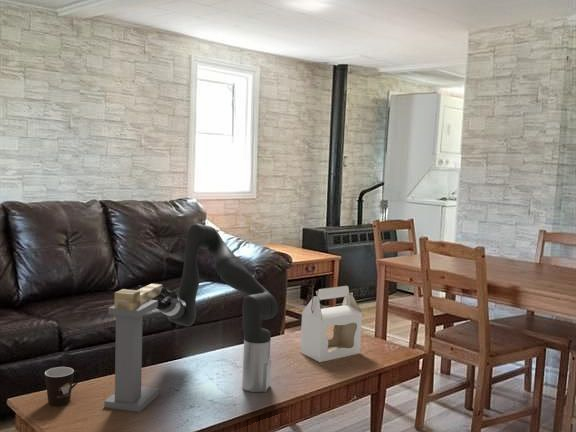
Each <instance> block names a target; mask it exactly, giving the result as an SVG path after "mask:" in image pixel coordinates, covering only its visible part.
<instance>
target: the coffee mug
mask: <svg viewBox="0 0 576 432" xmlns="http://www.w3.org/2000/svg"><path fill="white" fill-rule="evenodd" d="M82 372H83V371H81V370H78V369H76V370H74V368H72V367H67V366H58V367H51V368H49V369H47V370H45V372H44V377H45V378H44V379H45V386H46V395H47V403H48V405H49V406H50V407H63V406H66V405H68V404H70V403H71V396H72V390H73V389H74V387H75V386H77V385H78V384H79V382H80V380H81V379H82V377H83V373H82ZM76 373H79V378H78V379H77V380H76V382H74V384H73V380H74V374H76Z"/></svg>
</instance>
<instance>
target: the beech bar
mask: <svg viewBox="0 0 576 432" xmlns="http://www.w3.org/2000/svg"><path fill="white" fill-rule="evenodd" d="M142 287H143V288H141V289H139V290H137V289H136V290H135V289H127V288H122V289H120V290H118V291H117V290H116V291H114V304H113V306H114V309H124V310H134V309H136V308H138V307H140V304H142V303H144V302H146V301H148V300H150V299H152V298H154V297H156V296H157V295H159V294H161V289H162V287H163V284H159V283H150V284H148V285H145V286H142Z"/></svg>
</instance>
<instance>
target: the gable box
mask: <svg viewBox="0 0 576 432" xmlns="http://www.w3.org/2000/svg"><path fill="white" fill-rule="evenodd" d="M315 295H316V296H313V297H312V298H311V300H310V301H309V302H308V304H307V305H306V306H305V307H304V308H303V310H302V311H301V324H300V325H301V326H300V327H301V329H300V331H301V332H300V346H299V353H300V354H302V355H305V356H306V357H308V358H310V359H312V360H315V361H317V362H318V363H323V362H326V361H328V362H329V361H331V360H337V359H340V358H341V359H342V358H345V357H350V356H353V355H358V354H361V338H362V337H361V335H362V319H363V313H362V310H361V309H360V306H359V305H358V303H357V301H356V298H355V297H354V295H353V292H351V291H350V289H349V286H348V285H340V286H333V287H325V288H319V289H318V290H315ZM336 298H343V301H342V303H341V305H337V306H330V307H324V308H322V307H321V301H322V300H330V299H331V300H332V299H336ZM330 327H333V329H332V330H333V337H332V338H331V339H328V336H327V335H328V334H327V332H328V329H329V328H330Z"/></svg>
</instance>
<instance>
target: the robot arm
mask: <svg viewBox="0 0 576 432" xmlns="http://www.w3.org/2000/svg"><path fill="white" fill-rule="evenodd" d="M199 249H203V250H205V251H208V253H209V254H210V255H211V256H212V257H213V259H214V268H215V271H216V273H217V274H218V276H219V277H220V278H221V280H222V281H223V282H224V284H226V285H227V286H228V287H231V288H232V289H234V290H236V291H238V292H240V293H242V294H244V295H246V297H244V299H243V301H242V307H241V309H242V310H241V312H242V317H241V318H242V332H243V355H242V356H243V358H242V382H241V383H242V384H241V385H242V389H243V390H244V391H246V392H250V393H262V392H263V393H267V391H268V390H269V388H270V387H271V378H272V377H271V375H272V374H271V373H272V360H271V359H270V358H271V336H272V334H271V331H270V330H269V329H266V328H263V327H261V321H266V320H269V319H273V318H274V317H275V316H276V315H277V314H278V311H279V308H278V303H277V301H276V298H275V296H274V295H273V294H272V293H271V292H270V291H269V290H267V288H265V287H264V285H262V284H261V283H260V282H259V281H257V279H256V278H255V277H254V275H253V274H252V273H250V271H249V270H248V269H247V268H246V267H245V265H244V264H243V263H242V261H240V259H239V258H238V257H237V256H236V255H235V254H234V253H233V251H232V250H231V249H230V248H229V246H228V245H227V244H226V243H225V241H224V239H223V238H222V236H221V235H220V233H219V232H218V230H217V229H216V228H214V227H213V226H211V225H205V224H201V223H192V224H191V225H190V227H188V230H187V233H186V238H185V248H184V260H183V269H182V276H181V281H180V284H179V289H178V292H177V291H174V290H173V291H172V292H171V290H169V289H167V288H166V287H163V286H162V289H161V294H159V295H157V296H156V297H154V298H152V299H150V300H158V307H156V308H155V309H157V310H158V311H159V312H161V313H162V314H163V315H166V316H167V319H168V321H169V322H172V323H175V324H178V325H181V326H184V327H190V326H192V325H193V324H194V323H195V321H196V318H197V309H196V308H197V307H196V305H197V304H196V302H197V301H196V299H197V294H198V290H199V286H200V272H199V268H198V267H199V266H198V263H197V262H198V261H197V256H198V251H199ZM143 287H144V286H142V285H137V288H136V290H139V289H141V288H143ZM180 300H181V301H182V302H181V301H180ZM183 302H184V303H185V306H184V304H183Z"/></svg>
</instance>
